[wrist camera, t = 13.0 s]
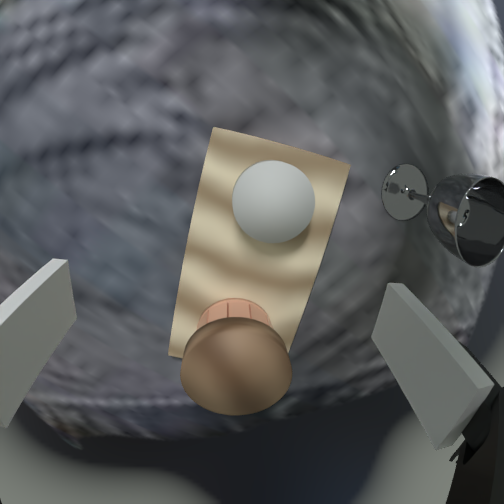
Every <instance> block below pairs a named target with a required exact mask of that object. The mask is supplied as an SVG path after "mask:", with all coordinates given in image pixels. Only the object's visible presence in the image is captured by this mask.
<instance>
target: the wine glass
mask: <svg viewBox="0 0 504 504" xmlns="http://www.w3.org/2000/svg"><path fill="white" fill-rule="evenodd" d="M428 194H429V188H428V183H427V180H426V177H425V175H424V174H423V172H422V171H421V170H420V169H419V168H417V167H416V166H414V165H411V164H401V165H398V166H396V167H394V168H393V169H392V170H391V171H390V172H389V173H388V174H387V176H386V178H385V180H384V182H383V186H382V202H383V205H384V207H385V209H386V211H387V212H388V213H389V215H391V216H392V217H393V218H395V219H397V220H402V221H406V220H410V219H413V218H415V217H416V216H418V215H419V214H420V213H421V212H422V210H423V209H424V207H425V205H427V219H428V224H429V227H430V229H431V231H432V233H433V234H434V236H435V237H436V238H437V240H438V241H439V242H440V243H441V244H442V245H443V246H444V247H445V248H446V249H447V250H448V251H449V252H450V253H452V254H453V255H455V256H456V257H457V258H459V259H460V260H462V261H464V262H465V263H467V264H469V265H471V266H473V267H484V266H487V265H489V264H491V263H492V262H493V261H495V260H496V259H497V258H498V257H499V256H500V254H501V253H502V251H503V250H504V183H503V182H502V181H500V180H499V179H496V178H493V177H490V176H486V175H480V174H457V175H452V176H449V177H446V178H445V179H443V180H441V181H440V182H439V183H438V184H437V185H436V186H435V187H434V189H433V190H432V192H431V194H430V195H428Z"/></svg>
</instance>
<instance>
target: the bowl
mask: <svg viewBox="0 0 504 504" xmlns="http://www.w3.org/2000/svg"><path fill="white" fill-rule="evenodd" d="M227 317H245V318H250V319H255V320H258V321H260V322H263V323H265V324H267V325H268V326H270V327H271V328H273V326H272V324H271V321H270V318H269V316H268V314H267V313H266V312H265V310H264V309H263V308H262V307H261V306H259V305H258V304H256V303H254V302H252V301H250V300H247V299H242V298H227V299H223V300H220V301H217V302H215V303H213V304H212V305H210V306H209V307H208V308H207V309H206V310H205V311H204V312H203V313H202V315H201V317H200V319H199V322H198V324H197V329H196V331H197V330H198V329H199V328H200V327H202V326H204V325H205V324H207V323H209V322H211V321H214V320H217V319H221V318H227Z"/></svg>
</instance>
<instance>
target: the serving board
mask: <svg viewBox="0 0 504 504" xmlns="http://www.w3.org/2000/svg"><path fill="white" fill-rule="evenodd" d="M264 160H277V161H282V162H285V163H288V164H290V165H293V166H295V167H296V168H298V169H299V170H300V171H302V172H303V173H304V174H305V175H306V177H307V178H308V179H309V181H310V183H311V185H312V187H313V190H314V194H315V209H314V213H313V216H312V218H311V220H310V222H309V224H308V225H307V227H306V228H305V229H304V230H303V231H302V232H301V233H300V234H299V235H297V236H296V237H294V238H292V239H290V240H288V241H285V242H281V243H265V242H261V241H258V240H256V239H254V238H252V237H250V236H249V235H248V234H246V233H245V232H244V231H243V230H242V229H241V227H240V226H239V224H238V223H237V221H236V219H235V216H234V212H233V206H232V193H233V188H234V185H235V182H236V180H237V179H238V177H239V176H240V174H241V173H242V172H243V171H244V170H245V169H246V168H248V167H249V166H251V165H252V164H254V163H257V162H260V161H264ZM350 166H351V165H349V164H347V163H344V162H340V161H337V160H334V159H331V158H328V157H325V156H322V155H319V154H315V153H312V152H309V151H305V150H302V149H299V148H295V147H292V146H288V145H284V144H281V143H277V142H274V141H270V140H266V139H262V138H258V137H254V136H250V135H246V134H242V133H238V132H234V131H229V130H225V129H220V128H216V127H213V130H212V134H211V138H210V142H209V146H208V150H207V154H206V158H205V162H204V167H203V171H202V175H201V180H200V184H199V188H198V193H197V197H196V202H195V207H194V211H193V216H192V221H191V226H190V230H189V235H188V240H187V245H186V251H185V256H184V261H183V266H182V272H181V277H180V283H179V289H178V295H177V300H176V306H175V312H174V319H173V325H172V332H171V338H170V345H169V352H168V355H169V356H174V357H179V358H183V354H184V350H185V346H186V344H187V342H188V340H189V338H190V337H191V336H192V335H193V333H194V332H195V331H196V329H197V324H198V322H199V319H200V317H201V315H202V313H203V312H204V311H205V310H206V309H207V308H208V307H209V306H210V305H212V304H213V303H215V302H217V301H220V300H223V299H227V298H242V299H247V300H250V301H252V302H254V303H256V304H258V305H259V306H261V307H262V308H263V309H264V310H265V312H266V313H267V314H268V316H269V318H270V321H271V324H272V326H273V329H274V330H275V331H276V332H277V333H278V334H279V335H280V336H281V338H282V339H283V341H284V343H285V346H286V348H287V352H289V349H290V346H291V344H292V341H293V339H294V336H295V333H296V331H297V328H298V325H299V323H300V320H301V317H302V314H303V312H304V309H305V306H306V303H307V301H308V298H309V295H310V292H311V289H312V287H313V284H314V281H315V278H316V275H317V272H318V269H319V266H320V263H321V260H322V257H323V254H324V251H325V248H326V245H327V242H328V239H329V236H330V233H331V229H332V226H333V223H334V220H335V217H336V213H337V210H338V207H339V203H340V200H341V197H342V193H343V190H344V187H345V183H346V180H347V176H348V173H349V169H350Z"/></svg>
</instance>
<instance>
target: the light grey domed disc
mask: <svg viewBox="0 0 504 504" xmlns="http://www.w3.org/2000/svg"><path fill="white" fill-rule="evenodd" d="M232 206H233V212H234V216H235V219H236V221H237V223H238V224H239V226H240V227H241V229H242V230H243V231H244V232H245V233H246V234H248V235H249V236H250V237H252V238H254V239H256V240H258V241H261V242H265V243H281V242H285V241H288V240H290V239H292V238H294V237H296V236H297V235H299V234H300V233H301V232H302V231H303V230H304V229H305V228H306V227H307V225H308V224H309V222H310V220H311V218H312V216H313V213H314V209H315V194H314V190H313V187H312V185H311V183H310V181H309V179H308V178H307V177H306V175H305V174H304V173H303V172H302V171H300V170H299V169H298V168H296V167H295V166H293V165H290V164H288V163H285V162H282V161H277V160H264V161H260V162H257V163H254V164H252V165H251V166H249V167H248V168H246V169H245V170H244V171H243V172H242V173H241V174H240V176H239V177H238V179H237V180H236V182H235V185H234V188H233V193H232Z"/></svg>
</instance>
